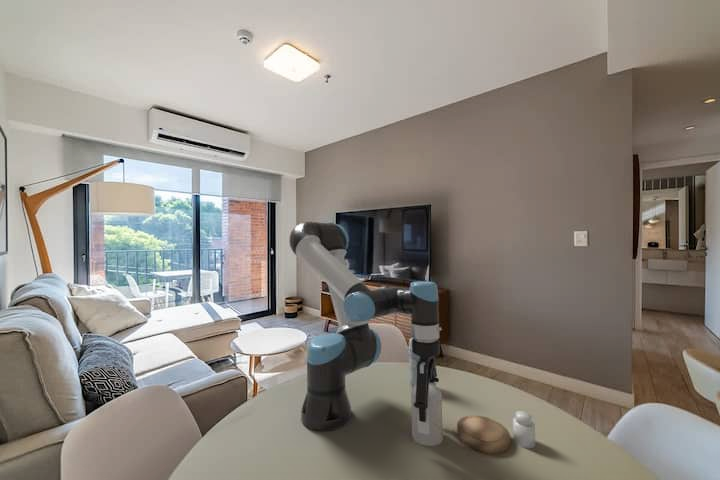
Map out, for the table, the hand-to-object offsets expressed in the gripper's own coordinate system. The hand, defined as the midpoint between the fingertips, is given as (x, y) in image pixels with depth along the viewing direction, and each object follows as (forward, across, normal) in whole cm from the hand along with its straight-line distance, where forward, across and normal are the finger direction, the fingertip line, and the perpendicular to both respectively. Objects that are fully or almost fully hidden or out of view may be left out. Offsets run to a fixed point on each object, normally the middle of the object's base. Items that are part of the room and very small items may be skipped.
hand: (428, 418), depth 77 cm
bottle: (+5, +28, +8) cm, 30 cm away
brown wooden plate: (+5, +5, -14) cm, 15 cm away
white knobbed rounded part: (+5, +7, -24) cm, 25 cm away
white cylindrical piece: (+5, 0, 0) cm, 5 cm away
